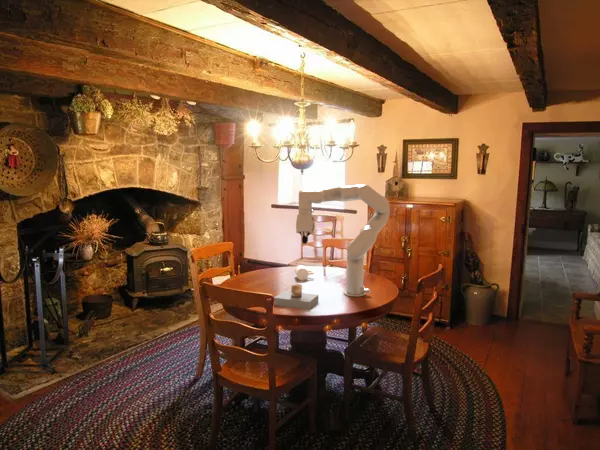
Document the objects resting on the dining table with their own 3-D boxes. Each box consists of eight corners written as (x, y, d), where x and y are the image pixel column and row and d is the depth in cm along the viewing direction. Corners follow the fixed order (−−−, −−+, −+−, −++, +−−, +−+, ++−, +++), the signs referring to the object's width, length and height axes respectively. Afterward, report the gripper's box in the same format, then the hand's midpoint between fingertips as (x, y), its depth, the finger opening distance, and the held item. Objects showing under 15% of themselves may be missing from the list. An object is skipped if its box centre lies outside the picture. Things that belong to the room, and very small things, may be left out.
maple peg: (303, 300, 236) (303, 284, 234) (299, 303, 230) (299, 287, 229) (293, 299, 238) (293, 283, 237) (289, 302, 232) (289, 286, 231)
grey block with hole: (318, 302, 237) (318, 294, 236) (308, 309, 224) (309, 302, 223) (284, 297, 244) (284, 290, 244) (273, 304, 231) (273, 297, 231)
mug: (296, 280, 282) (296, 268, 281) (294, 276, 292) (294, 265, 291) (314, 280, 283) (314, 268, 282) (312, 276, 293) (312, 264, 292)
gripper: (319, 211, 250) (319, 243, 253) (295, 210, 256) (295, 241, 258) (315, 213, 243) (314, 245, 246) (290, 211, 249) (290, 243, 251)
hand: (304, 243), depth 252 cm, fingers closed
